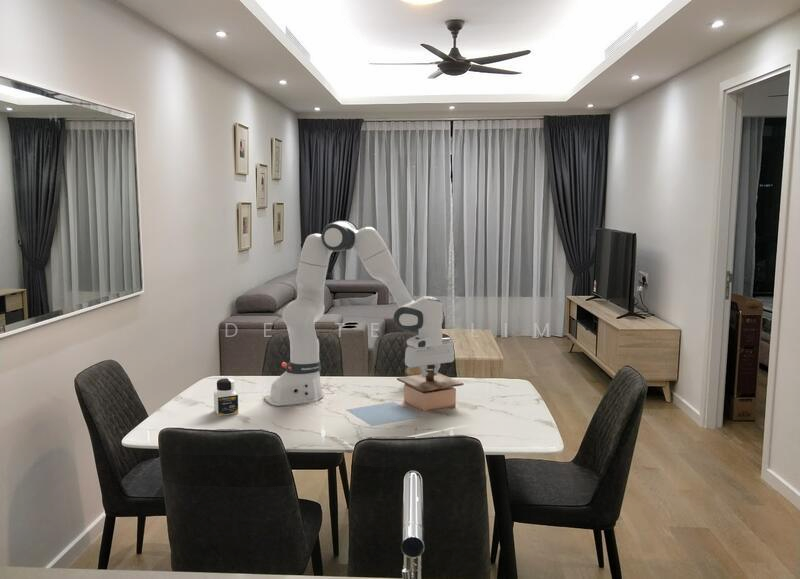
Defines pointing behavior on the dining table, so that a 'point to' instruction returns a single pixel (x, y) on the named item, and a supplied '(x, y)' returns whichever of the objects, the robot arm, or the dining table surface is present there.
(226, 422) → the dining table surface
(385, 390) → the dining table surface
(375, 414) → the slate mat
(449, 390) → the terracotta open box
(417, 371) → the coffee box
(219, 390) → the medicine bottle
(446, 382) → the walnut lid
